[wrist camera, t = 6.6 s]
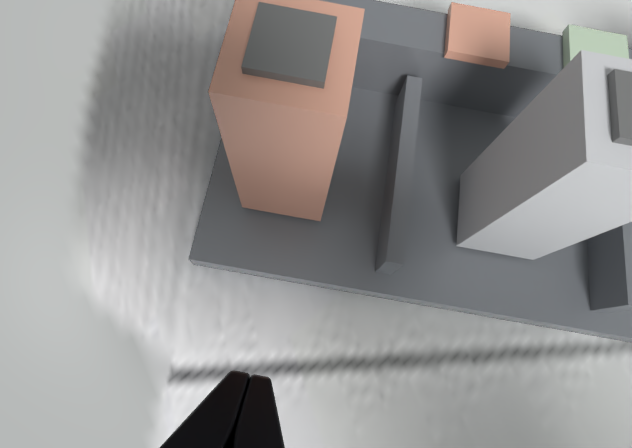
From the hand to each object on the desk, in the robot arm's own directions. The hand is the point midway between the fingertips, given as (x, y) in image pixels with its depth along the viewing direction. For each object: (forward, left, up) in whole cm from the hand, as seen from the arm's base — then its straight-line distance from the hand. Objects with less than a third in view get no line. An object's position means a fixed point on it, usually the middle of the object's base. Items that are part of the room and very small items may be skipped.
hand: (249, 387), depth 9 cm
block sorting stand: (+14, -6, -12) cm, 19 cm away
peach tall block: (+8, +4, -10) cm, 14 cm away
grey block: (+12, -6, -10) cm, 17 cm away
